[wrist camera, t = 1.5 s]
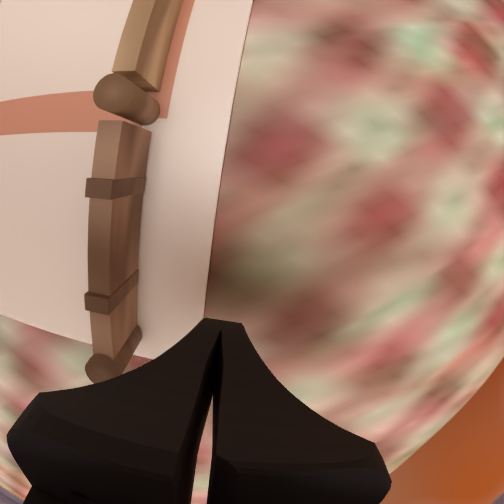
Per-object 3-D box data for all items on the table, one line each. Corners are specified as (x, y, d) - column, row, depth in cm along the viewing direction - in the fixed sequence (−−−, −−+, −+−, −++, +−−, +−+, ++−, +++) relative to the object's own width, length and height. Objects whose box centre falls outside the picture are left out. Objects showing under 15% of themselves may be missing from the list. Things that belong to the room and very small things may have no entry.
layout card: (-31, 298, 15) (-33, 300, 15) (18, -27, 9) (16, -29, 9) (199, 364, 16) (198, 367, 16) (268, -65, 10) (269, -68, 10)
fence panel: (126, 130, 13) (85, 118, 9) (157, 132, 13) (125, 118, 9) (116, 341, 15) (87, 383, 12) (142, 347, 16) (118, 392, 12)
